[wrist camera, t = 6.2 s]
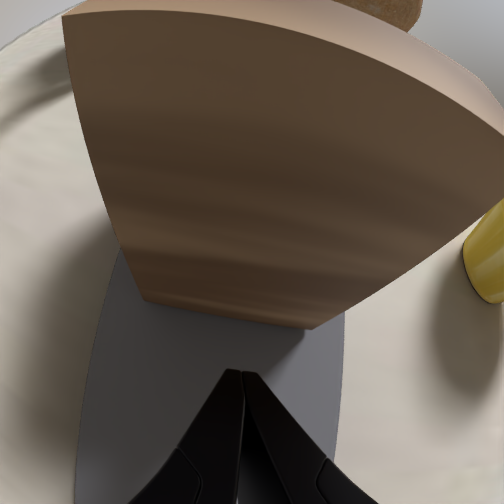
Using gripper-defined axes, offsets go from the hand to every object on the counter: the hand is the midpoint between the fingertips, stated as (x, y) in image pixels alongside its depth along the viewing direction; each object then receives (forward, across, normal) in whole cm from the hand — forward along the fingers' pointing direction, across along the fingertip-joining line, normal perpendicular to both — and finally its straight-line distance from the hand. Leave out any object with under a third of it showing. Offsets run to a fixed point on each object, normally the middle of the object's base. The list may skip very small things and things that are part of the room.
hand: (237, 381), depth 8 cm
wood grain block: (+10, 0, -3) cm, 11 cm away
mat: (+8, 0, +2) cm, 8 cm away
